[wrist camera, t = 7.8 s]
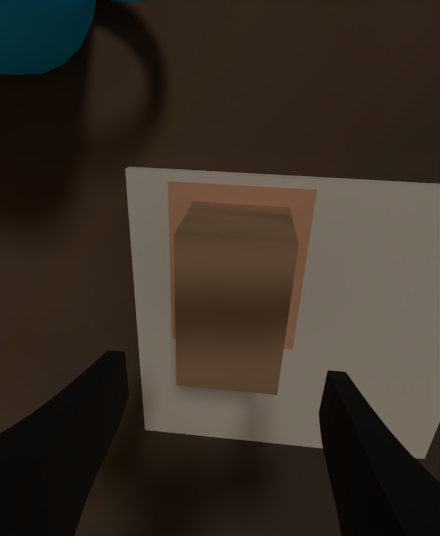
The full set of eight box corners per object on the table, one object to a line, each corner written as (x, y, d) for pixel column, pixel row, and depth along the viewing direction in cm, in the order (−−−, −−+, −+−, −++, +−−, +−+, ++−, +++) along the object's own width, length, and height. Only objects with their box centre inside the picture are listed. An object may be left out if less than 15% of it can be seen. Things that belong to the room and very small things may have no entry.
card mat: (526, 188, 18) (534, 191, 18) (421, 451, 27) (424, 459, 26) (128, 166, 20) (125, 169, 19) (147, 423, 28) (144, 430, 27)
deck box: (273, 334, 23) (277, 395, 18) (192, 327, 23) (176, 385, 18) (289, 207, 19) (298, 243, 15) (193, 201, 19) (173, 235, 15)
